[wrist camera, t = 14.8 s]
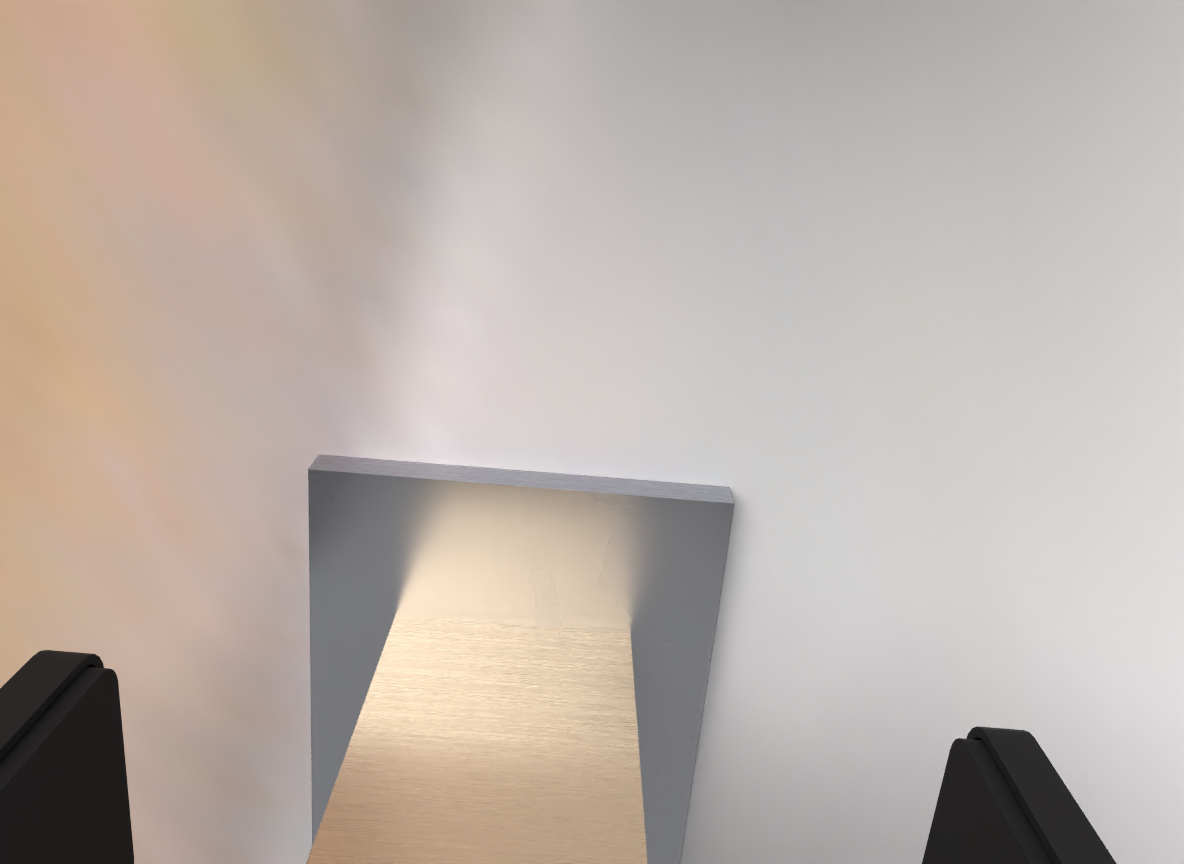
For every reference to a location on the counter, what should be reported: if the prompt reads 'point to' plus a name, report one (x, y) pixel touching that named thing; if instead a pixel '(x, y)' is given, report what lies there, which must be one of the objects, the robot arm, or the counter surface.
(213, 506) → the counter surface
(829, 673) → the counter surface
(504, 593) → the trowel
